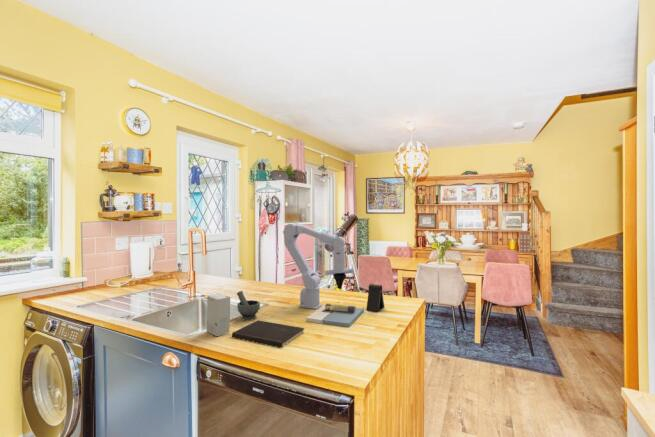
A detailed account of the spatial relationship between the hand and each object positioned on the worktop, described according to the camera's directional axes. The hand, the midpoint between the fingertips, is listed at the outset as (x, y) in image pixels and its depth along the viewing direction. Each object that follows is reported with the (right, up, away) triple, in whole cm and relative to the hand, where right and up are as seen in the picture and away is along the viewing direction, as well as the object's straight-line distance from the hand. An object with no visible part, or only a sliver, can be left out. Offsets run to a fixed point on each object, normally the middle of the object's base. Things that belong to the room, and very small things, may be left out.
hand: (339, 288), depth 158 cm
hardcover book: (-29, -11, -34) cm, 46 cm away
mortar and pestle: (-42, -11, -14) cm, 46 cm away
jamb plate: (-8, -10, -10) cm, 16 cm away
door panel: (+2, -10, -14) cm, 17 cm away
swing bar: (0, -8, -10) cm, 13 cm away
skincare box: (-50, -11, -32) cm, 60 cm away
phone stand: (+18, -10, -2) cm, 20 cm away
